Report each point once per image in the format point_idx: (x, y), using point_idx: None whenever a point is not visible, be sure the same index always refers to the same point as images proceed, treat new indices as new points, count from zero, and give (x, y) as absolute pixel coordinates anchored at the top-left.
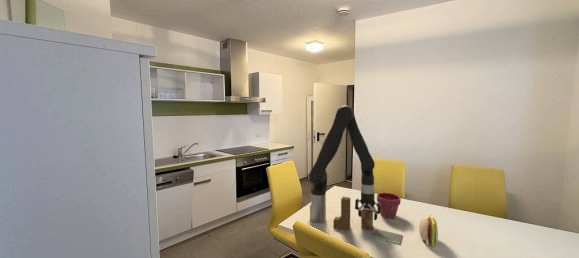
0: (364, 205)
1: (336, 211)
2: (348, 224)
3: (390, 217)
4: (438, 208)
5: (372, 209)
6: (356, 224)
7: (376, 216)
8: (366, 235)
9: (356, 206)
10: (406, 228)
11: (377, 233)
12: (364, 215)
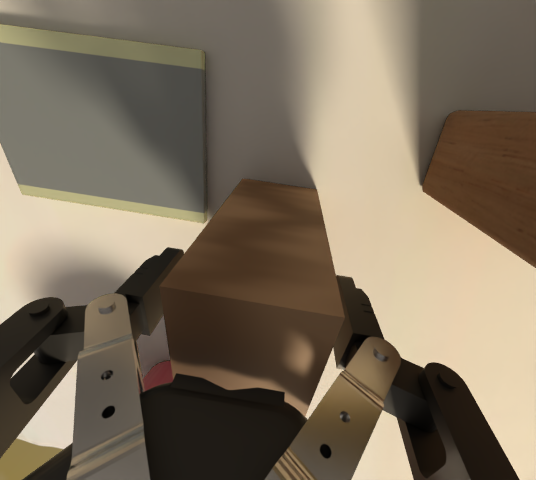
0: (277, 474)
1: (497, 377)
2: (491, 115)
3: (163, 364)
4: (48, 437)
5: (108, 362)
6: (357, 248)
7: (133, 278)
8: (260, 73)
9: (460, 424)
10: (58, 286)
11: (171, 138)
12: (283, 254)
